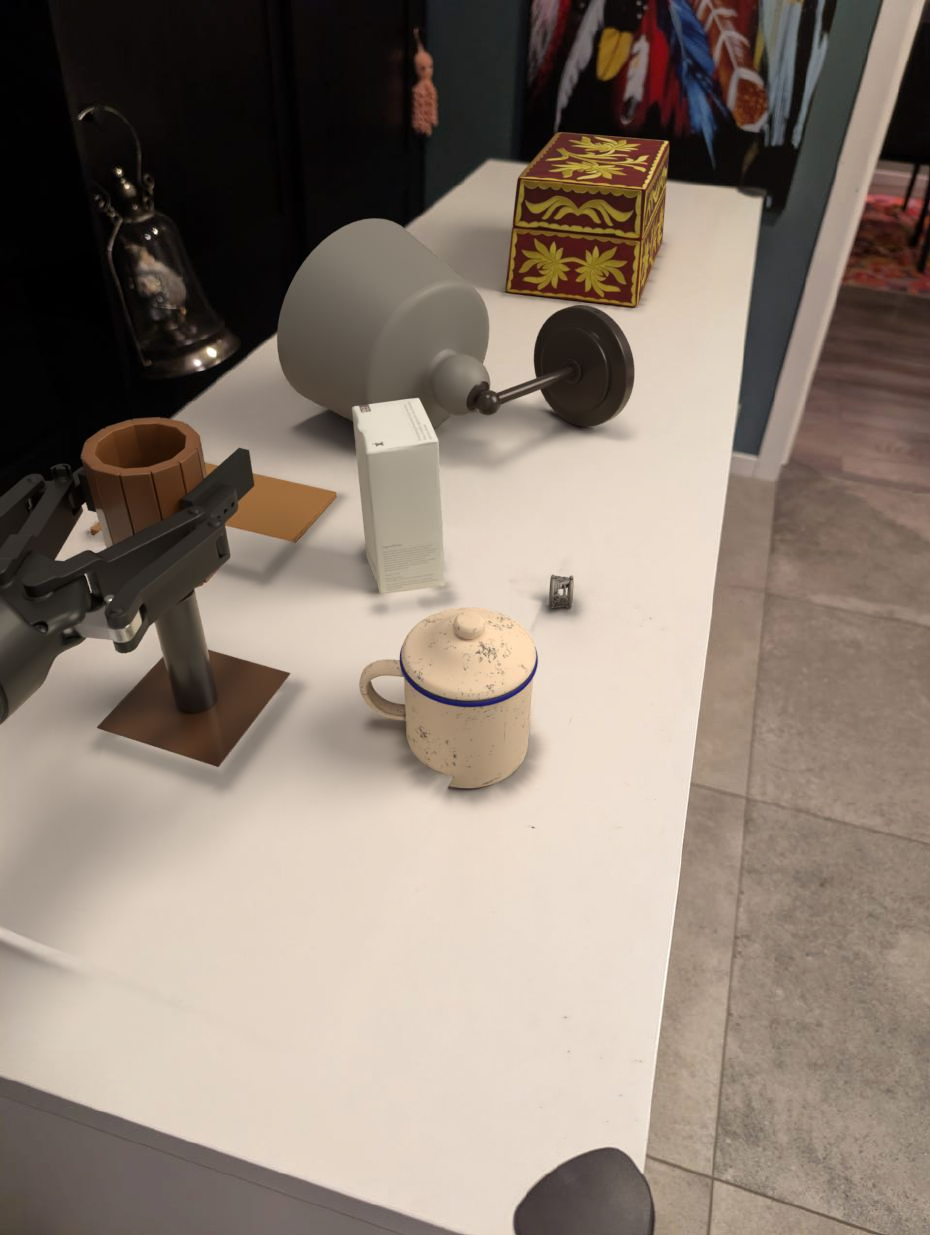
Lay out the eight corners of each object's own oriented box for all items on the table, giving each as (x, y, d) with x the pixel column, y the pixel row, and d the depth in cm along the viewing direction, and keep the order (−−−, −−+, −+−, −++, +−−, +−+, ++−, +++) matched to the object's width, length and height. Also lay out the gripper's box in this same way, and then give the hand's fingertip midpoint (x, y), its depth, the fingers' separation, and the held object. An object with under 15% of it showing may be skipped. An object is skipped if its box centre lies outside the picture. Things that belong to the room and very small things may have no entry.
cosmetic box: (446, 598, 81) (445, 443, 72) (376, 609, 80) (365, 452, 71) (426, 542, 87) (423, 393, 78) (361, 551, 86) (349, 400, 77)
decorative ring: (570, 616, 80) (573, 588, 78) (548, 614, 80) (550, 586, 78) (571, 595, 82) (574, 567, 80) (548, 593, 82) (551, 565, 80)
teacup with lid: (534, 704, 72) (543, 580, 64) (527, 799, 65) (537, 673, 57) (375, 691, 72) (366, 568, 65) (352, 784, 66) (339, 658, 58)
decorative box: (546, 230, 154) (552, 128, 144) (662, 242, 150) (677, 138, 141) (504, 292, 134) (508, 178, 124) (637, 308, 130) (652, 191, 120)
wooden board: (91, 534, 88) (89, 528, 88) (178, 461, 98) (177, 456, 98) (263, 578, 83) (262, 572, 83) (336, 496, 93) (336, 491, 93)
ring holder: (100, 742, 68) (58, 618, 61) (180, 654, 76) (151, 534, 68) (222, 781, 66) (193, 657, 58) (293, 687, 73) (275, 565, 65)
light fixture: (276, 233, 89) (478, 360, 77) (467, 197, 104) (661, 298, 92) (271, 422, 103) (442, 555, 91) (441, 366, 118) (607, 474, 106)
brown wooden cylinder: (93, 582, 62) (57, 460, 56) (155, 526, 67) (128, 409, 61) (183, 607, 60) (155, 484, 54) (240, 547, 65) (220, 429, 59)
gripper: (-184, 682, 52) (87, 474, 69) (119, 786, 47) (335, 534, 63) (-249, 572, 47) (60, 377, 64) (82, 674, 42) (326, 433, 58)
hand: (197, 455), depth 63 cm, fingers closed on brown wooden cylinder, 7 cm apart
